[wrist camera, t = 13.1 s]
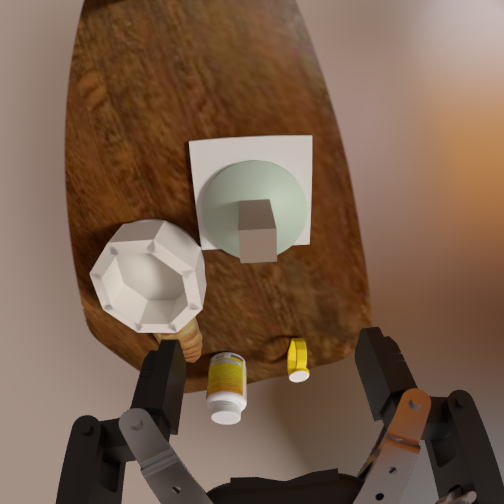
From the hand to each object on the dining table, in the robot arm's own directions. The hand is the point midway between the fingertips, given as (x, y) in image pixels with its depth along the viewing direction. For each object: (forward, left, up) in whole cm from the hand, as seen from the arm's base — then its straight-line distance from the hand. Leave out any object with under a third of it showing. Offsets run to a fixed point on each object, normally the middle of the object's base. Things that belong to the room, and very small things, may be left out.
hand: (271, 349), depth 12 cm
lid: (+2, 0, -20) cm, 20 cm away
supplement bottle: (+26, -5, -21) cm, 34 cm away
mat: (0, 0, -21) cm, 21 cm away
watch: (+23, +5, -21) cm, 31 cm away
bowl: (+8, -12, -21) cm, 25 cm away
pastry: (+19, -11, -21) cm, 30 cm away
